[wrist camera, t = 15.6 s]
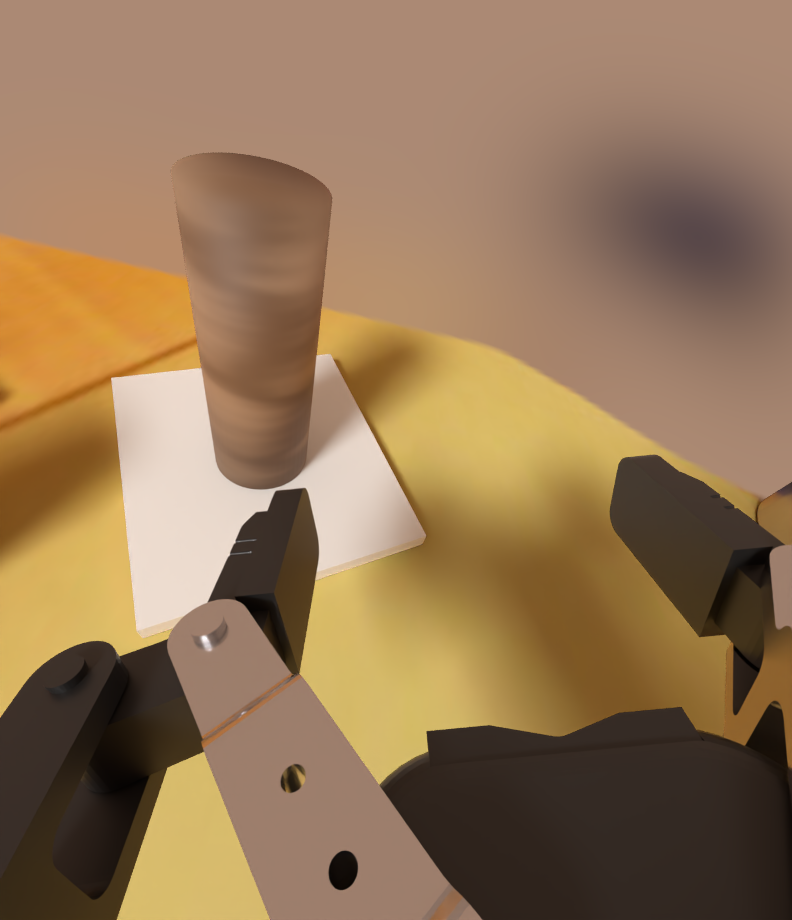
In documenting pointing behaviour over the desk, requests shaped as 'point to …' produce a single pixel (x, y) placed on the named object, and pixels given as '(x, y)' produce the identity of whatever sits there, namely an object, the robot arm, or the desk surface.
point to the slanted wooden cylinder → (254, 305)
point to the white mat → (241, 490)
